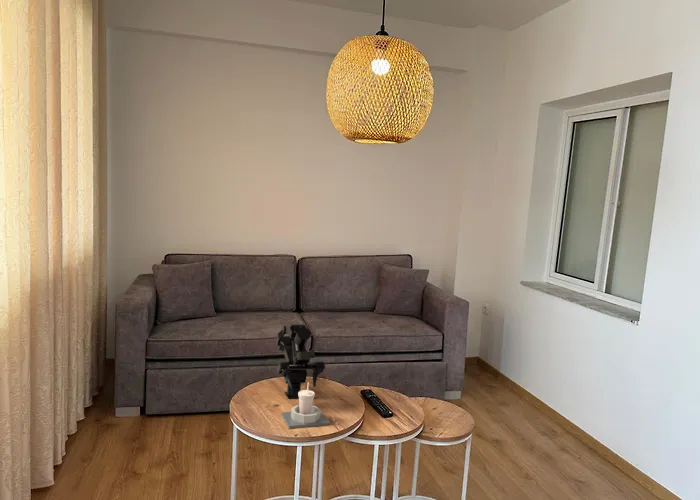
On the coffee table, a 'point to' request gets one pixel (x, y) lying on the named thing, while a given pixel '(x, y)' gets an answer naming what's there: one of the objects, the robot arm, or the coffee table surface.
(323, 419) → the bottle stand
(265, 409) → the coffee table surface
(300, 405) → the smoothie
